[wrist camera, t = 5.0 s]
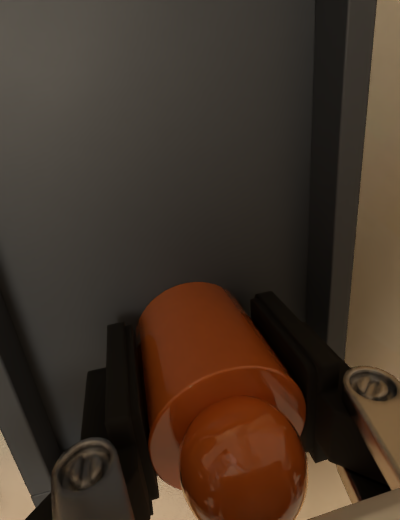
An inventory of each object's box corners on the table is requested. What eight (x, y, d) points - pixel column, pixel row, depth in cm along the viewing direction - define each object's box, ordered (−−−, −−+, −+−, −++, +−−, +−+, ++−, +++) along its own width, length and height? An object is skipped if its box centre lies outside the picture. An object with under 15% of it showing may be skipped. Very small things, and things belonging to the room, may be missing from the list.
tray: (-182, -103, 7) (-283, -182, 5) (337, -96, 9) (391, -149, 7) (46, 462, 13) (36, 512, 12) (313, 388, 15) (339, 422, 14)
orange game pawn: (125, 294, 11) (141, 494, 5) (241, 271, 12) (375, 422, 6) (145, 387, 13) (175, 625, 7) (246, 362, 13) (355, 556, 7)
